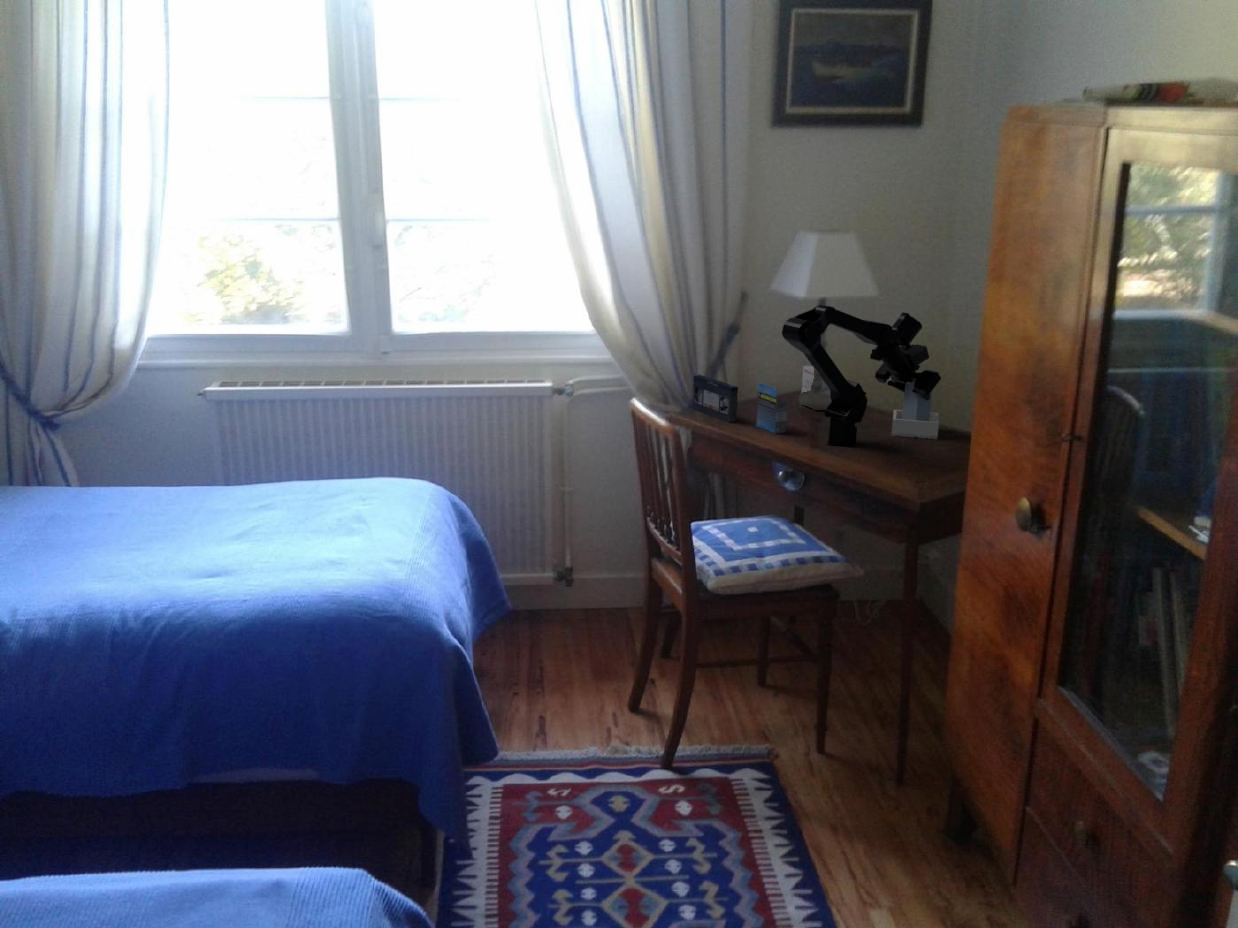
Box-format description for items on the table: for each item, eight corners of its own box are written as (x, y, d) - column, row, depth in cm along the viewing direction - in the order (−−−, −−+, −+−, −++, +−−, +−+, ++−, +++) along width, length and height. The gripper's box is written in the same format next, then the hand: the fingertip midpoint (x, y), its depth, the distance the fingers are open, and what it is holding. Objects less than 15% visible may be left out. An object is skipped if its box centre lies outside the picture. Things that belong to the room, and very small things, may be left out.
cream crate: (891, 435, 281) (892, 419, 279) (892, 425, 291) (893, 409, 290) (937, 439, 278) (938, 423, 277) (936, 428, 289) (938, 413, 287)
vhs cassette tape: (691, 409, 305) (693, 375, 303) (700, 408, 307) (702, 374, 304) (727, 423, 290) (729, 387, 287) (737, 422, 291) (738, 386, 289)
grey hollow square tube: (915, 425, 280) (920, 376, 277) (901, 421, 285) (906, 373, 281) (929, 423, 283) (934, 375, 279) (915, 419, 287) (920, 371, 284)
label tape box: (786, 432, 281) (789, 387, 278) (773, 434, 280) (776, 388, 276) (767, 425, 289) (770, 380, 286) (754, 426, 287) (757, 381, 284)
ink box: (830, 410, 307) (833, 370, 304) (815, 411, 305) (818, 371, 302) (814, 404, 315) (817, 364, 311) (799, 405, 313) (802, 365, 310)
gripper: (940, 341, 268) (966, 380, 276) (887, 330, 283) (913, 368, 291) (913, 374, 266) (940, 413, 274) (862, 361, 281) (889, 398, 290)
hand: (921, 397), depth 282 cm, fingers closed on grey hollow square tube, 5 cm apart
